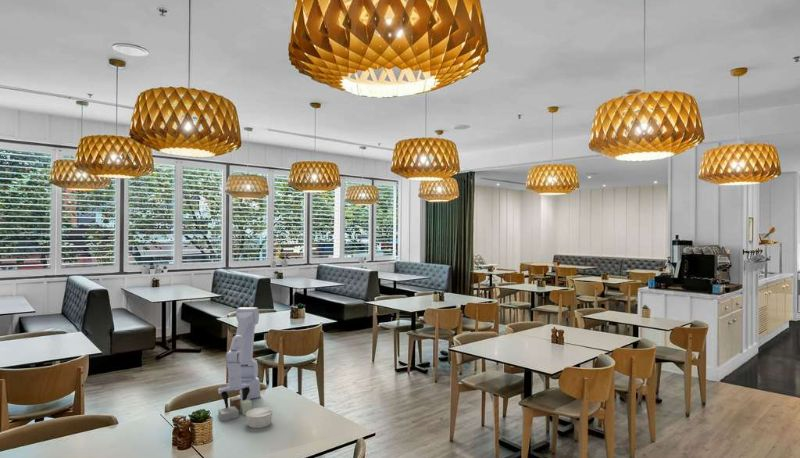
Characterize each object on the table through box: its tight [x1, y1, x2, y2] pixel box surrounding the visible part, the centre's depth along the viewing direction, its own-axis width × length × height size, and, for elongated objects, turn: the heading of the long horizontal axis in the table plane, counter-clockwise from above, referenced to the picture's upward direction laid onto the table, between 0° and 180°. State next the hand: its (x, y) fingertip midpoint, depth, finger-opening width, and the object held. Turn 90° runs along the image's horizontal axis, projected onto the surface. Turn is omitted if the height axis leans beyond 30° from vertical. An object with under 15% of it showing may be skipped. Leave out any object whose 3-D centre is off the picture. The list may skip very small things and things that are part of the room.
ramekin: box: [245, 406, 274, 429], centre depth 209 cm, size 11×11×5 cm
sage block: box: [240, 399, 253, 416], centre depth 223 cm, size 4×4×5 cm
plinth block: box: [217, 406, 240, 422], centre depth 218 cm, size 7×7×3 cm
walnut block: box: [229, 395, 241, 411], centre depth 227 cm, size 4×4×5 cm
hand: (235, 406), depth 227 cm, fingers open, 7 cm apart
